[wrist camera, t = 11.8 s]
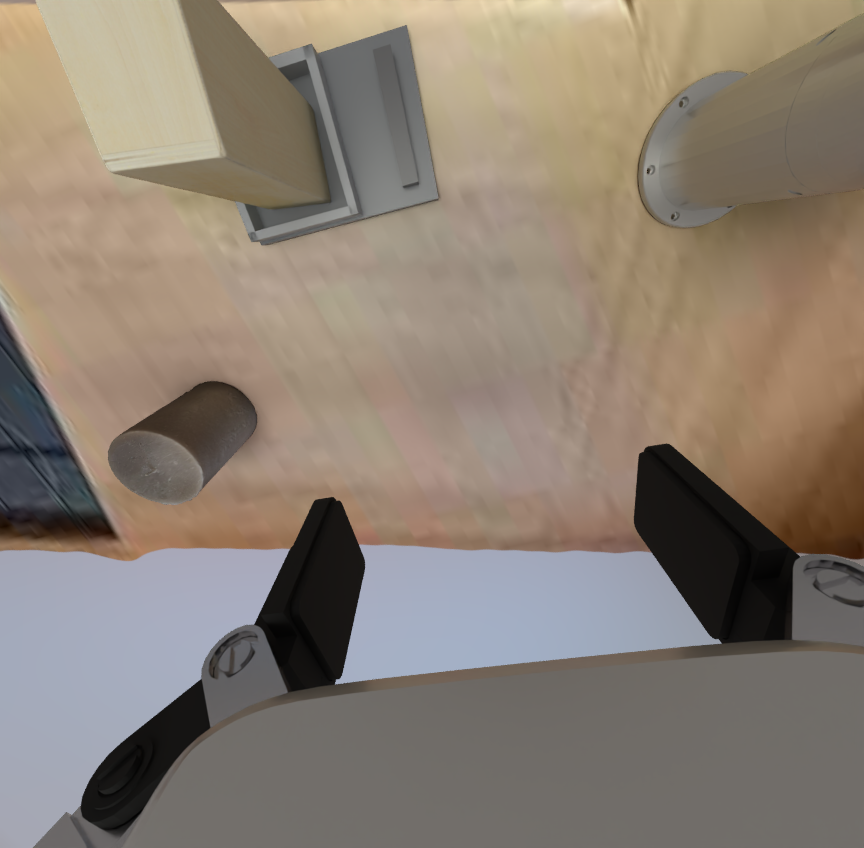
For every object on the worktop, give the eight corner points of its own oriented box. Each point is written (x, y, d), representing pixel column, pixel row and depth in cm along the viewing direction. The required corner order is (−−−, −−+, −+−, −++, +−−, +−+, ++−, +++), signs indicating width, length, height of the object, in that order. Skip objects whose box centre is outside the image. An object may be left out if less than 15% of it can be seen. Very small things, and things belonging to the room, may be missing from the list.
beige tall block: (238, 114, 34) (-3, -45, 15) (313, 104, 33) (161, -71, 15) (264, 211, 37) (96, 179, 19) (332, 202, 37) (230, 162, 18)
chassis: (407, 32, 32) (404, 8, 29) (438, 199, 38) (438, 195, 35) (207, 96, 34) (183, 80, 31) (265, 245, 40) (250, 245, 37)
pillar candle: (174, 385, 48) (74, 442, 35) (243, 376, 47) (168, 431, 34) (205, 446, 52) (127, 517, 39) (268, 439, 52) (211, 509, 38)
